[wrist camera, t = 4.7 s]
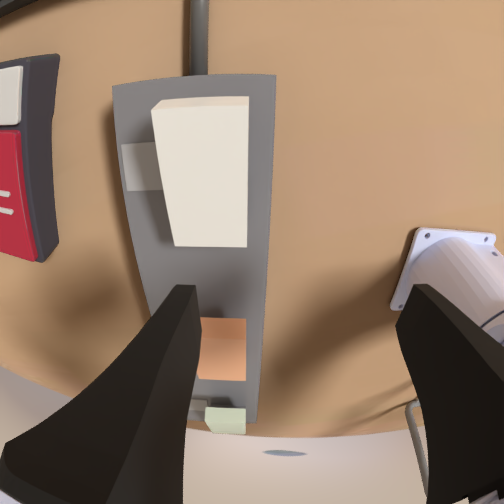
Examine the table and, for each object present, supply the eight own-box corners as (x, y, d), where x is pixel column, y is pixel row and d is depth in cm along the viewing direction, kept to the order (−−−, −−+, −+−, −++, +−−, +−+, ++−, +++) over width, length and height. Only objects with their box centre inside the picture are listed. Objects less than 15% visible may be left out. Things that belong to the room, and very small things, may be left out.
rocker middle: (246, 318, 17) (245, 339, 16) (246, 364, 22) (245, 380, 21) (185, 316, 17) (182, 336, 16) (200, 362, 22) (199, 378, 21)
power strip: (274, -64, 9) (279, -95, 5) (256, 401, 32) (256, 430, 29) (140, -52, 9) (115, -75, 5) (190, 398, 32) (186, 427, 29)
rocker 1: (248, 96, 10) (248, 105, 10) (247, 228, 15) (246, 247, 14) (161, 100, 10) (150, 110, 9) (179, 228, 15) (174, 246, 14)
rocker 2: (245, 408, 24) (245, 422, 23) (245, 423, 29) (245, 434, 28) (205, 406, 24) (204, 420, 23) (213, 421, 28) (212, 433, 28)
